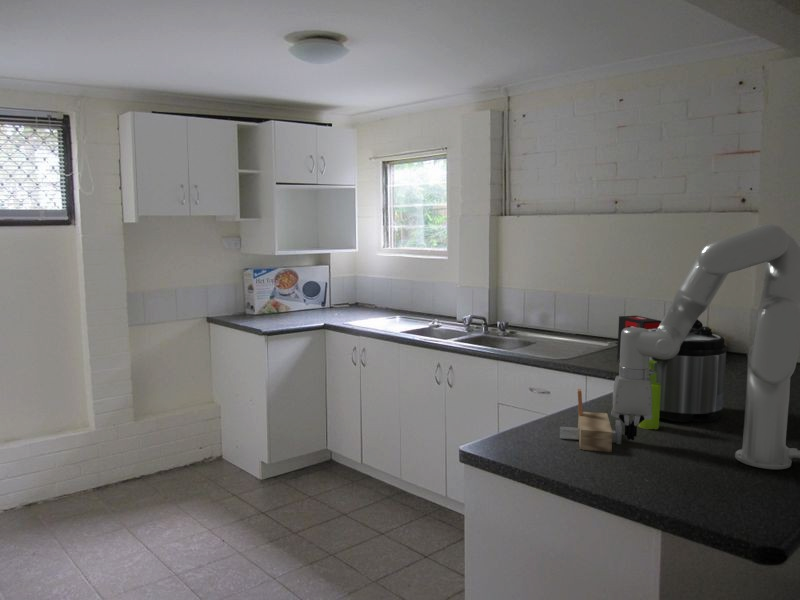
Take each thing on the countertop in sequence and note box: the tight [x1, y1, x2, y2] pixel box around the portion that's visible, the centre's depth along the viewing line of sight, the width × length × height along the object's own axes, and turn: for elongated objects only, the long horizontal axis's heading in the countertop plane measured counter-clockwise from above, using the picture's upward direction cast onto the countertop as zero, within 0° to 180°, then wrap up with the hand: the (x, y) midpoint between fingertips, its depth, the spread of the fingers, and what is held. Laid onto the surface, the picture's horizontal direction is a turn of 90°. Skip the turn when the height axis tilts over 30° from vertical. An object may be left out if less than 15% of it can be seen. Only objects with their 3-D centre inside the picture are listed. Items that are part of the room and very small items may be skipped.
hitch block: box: [577, 411, 613, 453], centre depth 186 cm, size 8×18×5 cm, turn 167°
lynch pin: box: [559, 419, 623, 445], centre depth 186 cm, size 16×5×5 cm, turn 77°
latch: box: [577, 388, 584, 415], centre depth 191 cm, size 7×3×1 cm
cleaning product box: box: [616, 315, 662, 360], centre depth 285 cm, size 16×9×20 cm, turn 17°
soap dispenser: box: [637, 360, 661, 430], centre depth 198 cm, size 6×7×20 cm
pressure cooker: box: [648, 318, 727, 423], centre depth 212 cm, size 30×28×32 cm
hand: (630, 438), depth 184 cm, fingers closed
